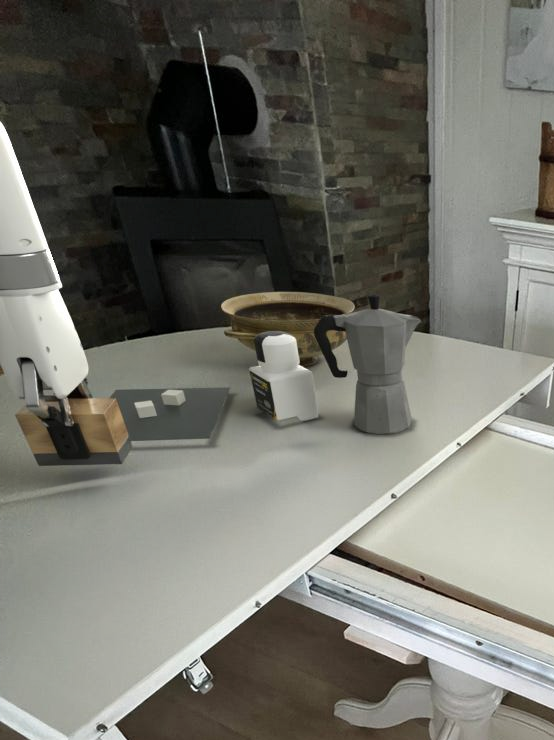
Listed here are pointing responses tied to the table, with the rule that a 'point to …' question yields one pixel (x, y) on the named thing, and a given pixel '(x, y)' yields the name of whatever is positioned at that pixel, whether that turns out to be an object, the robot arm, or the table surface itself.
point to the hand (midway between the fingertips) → (83, 446)
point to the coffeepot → (373, 364)
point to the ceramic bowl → (286, 318)
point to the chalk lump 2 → (173, 397)
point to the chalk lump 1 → (145, 409)
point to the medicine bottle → (282, 378)
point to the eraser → (97, 427)
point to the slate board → (172, 413)
